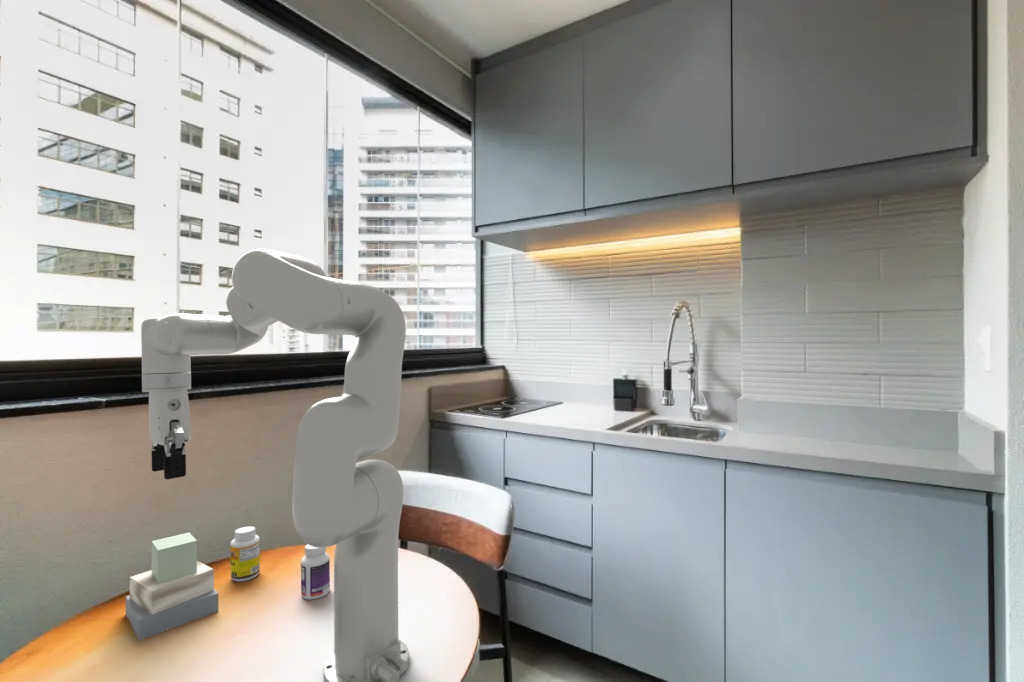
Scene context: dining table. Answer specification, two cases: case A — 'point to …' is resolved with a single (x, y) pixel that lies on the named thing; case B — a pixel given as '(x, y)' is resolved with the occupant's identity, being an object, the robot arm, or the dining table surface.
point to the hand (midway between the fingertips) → (168, 473)
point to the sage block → (174, 557)
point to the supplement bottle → (245, 554)
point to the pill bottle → (315, 573)
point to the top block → (170, 589)
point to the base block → (170, 614)
